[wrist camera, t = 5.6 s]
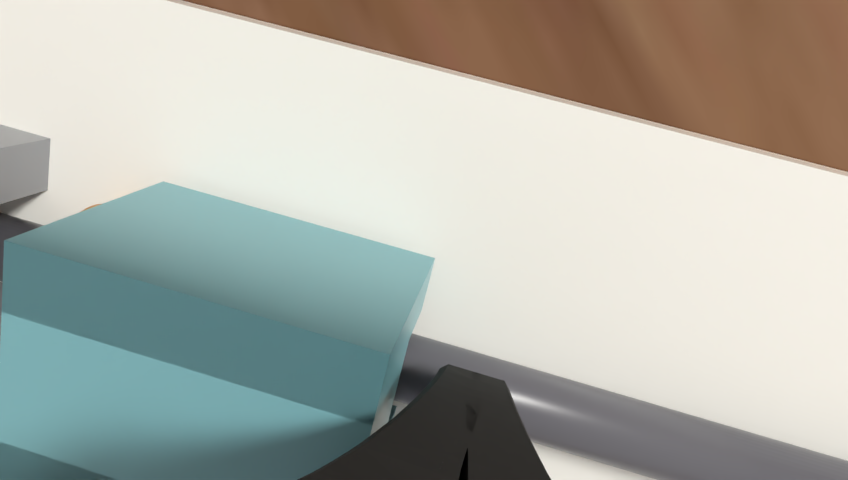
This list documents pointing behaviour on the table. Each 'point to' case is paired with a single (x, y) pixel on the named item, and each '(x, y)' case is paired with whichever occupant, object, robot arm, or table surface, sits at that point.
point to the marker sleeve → (197, 341)
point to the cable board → (476, 225)
